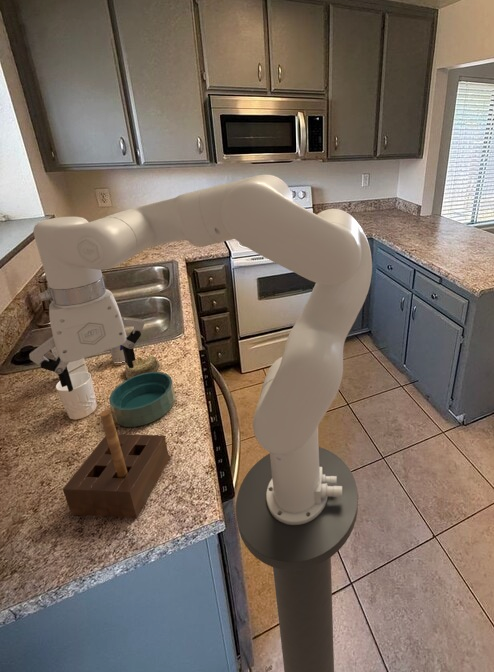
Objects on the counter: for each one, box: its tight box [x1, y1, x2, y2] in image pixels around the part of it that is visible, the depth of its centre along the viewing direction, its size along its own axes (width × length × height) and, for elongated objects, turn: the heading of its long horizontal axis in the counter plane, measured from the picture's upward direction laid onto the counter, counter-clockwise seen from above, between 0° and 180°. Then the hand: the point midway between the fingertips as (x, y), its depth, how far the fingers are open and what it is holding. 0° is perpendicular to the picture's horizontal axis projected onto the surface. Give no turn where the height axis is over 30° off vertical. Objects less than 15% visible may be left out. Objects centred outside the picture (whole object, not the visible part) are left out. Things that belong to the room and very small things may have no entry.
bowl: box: [109, 371, 176, 428], centre depth 98 cm, size 15×15×6 cm
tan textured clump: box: [124, 354, 160, 380], centre depth 114 cm, size 10×10×5 cm
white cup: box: [55, 371, 98, 421], centre depth 97 cm, size 8×8×10 cm
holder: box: [62, 433, 170, 519], centre depth 76 cm, size 14×14×7 cm
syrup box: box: [50, 346, 89, 375], centre depth 109 cm, size 6×6×14 cm
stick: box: [99, 408, 128, 478], centre depth 71 cm, size 2×2×22 cm
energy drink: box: [109, 345, 127, 366], centre depth 119 cm, size 5×5×12 cm
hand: (101, 375), depth 66 cm, fingers open, 9 cm apart
